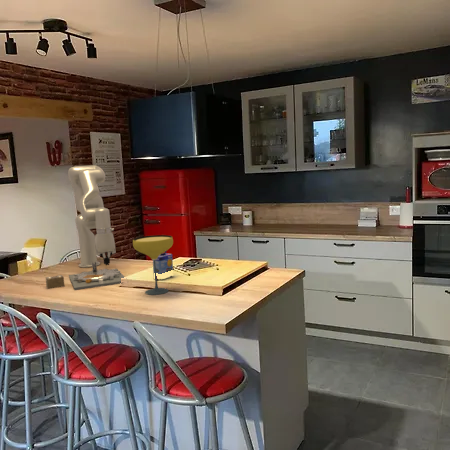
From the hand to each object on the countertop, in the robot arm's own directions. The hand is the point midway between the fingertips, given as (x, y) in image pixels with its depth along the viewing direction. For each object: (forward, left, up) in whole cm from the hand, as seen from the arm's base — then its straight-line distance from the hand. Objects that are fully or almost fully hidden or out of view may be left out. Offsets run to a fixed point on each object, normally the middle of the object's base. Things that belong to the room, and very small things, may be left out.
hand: (107, 264), depth 255 cm
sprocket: (+7, -7, -4) cm, 11 cm away
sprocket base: (+7, -7, -6) cm, 11 cm away
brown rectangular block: (+9, -28, -6) cm, 30 cm away
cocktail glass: (+49, +14, -6) cm, 51 cm away
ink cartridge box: (+25, +24, -6) cm, 35 cm away
